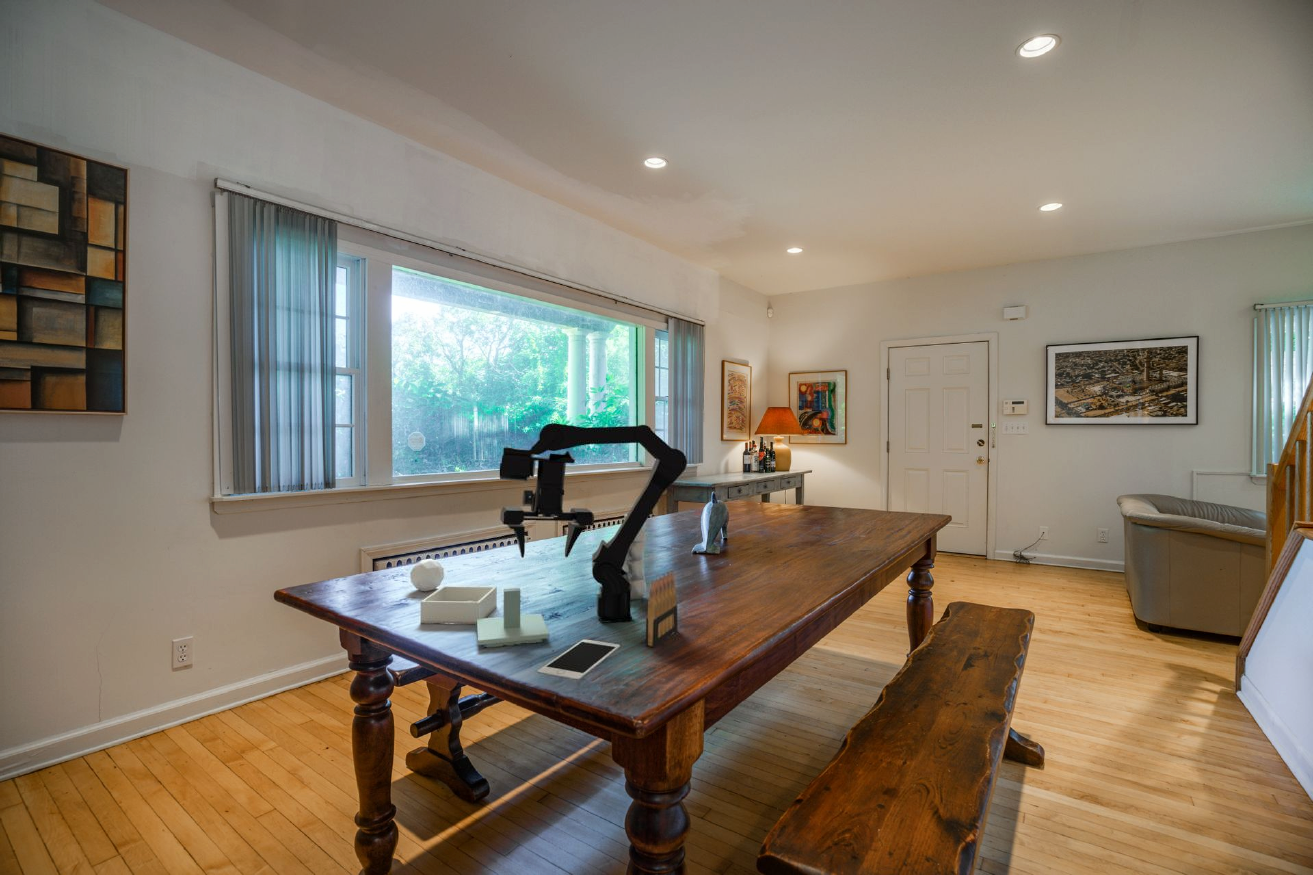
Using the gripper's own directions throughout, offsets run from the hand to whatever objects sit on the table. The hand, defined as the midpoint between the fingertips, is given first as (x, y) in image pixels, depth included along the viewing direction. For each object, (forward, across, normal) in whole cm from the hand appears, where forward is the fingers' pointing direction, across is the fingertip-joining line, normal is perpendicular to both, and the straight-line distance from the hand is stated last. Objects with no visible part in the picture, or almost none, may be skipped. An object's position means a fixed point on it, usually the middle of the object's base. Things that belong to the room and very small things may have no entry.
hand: (544, 557), depth 123 cm
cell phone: (+12, -3, +24) cm, 27 cm away
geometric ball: (+16, +22, -31) cm, 41 cm away
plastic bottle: (+12, -23, -7) cm, 27 cm away
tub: (+14, +15, -8) cm, 22 cm away
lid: (+13, +7, +9) cm, 17 cm away
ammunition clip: (+11, -20, +20) cm, 30 cm away
